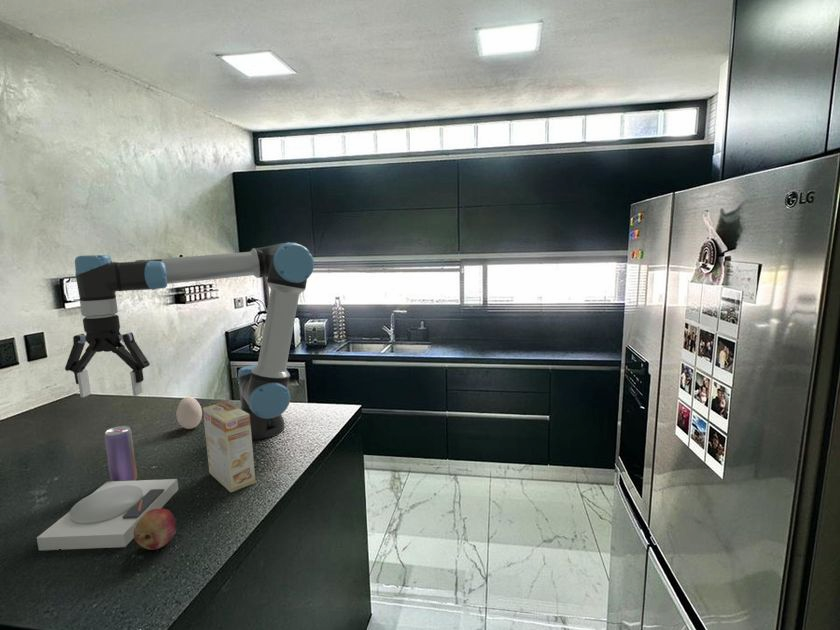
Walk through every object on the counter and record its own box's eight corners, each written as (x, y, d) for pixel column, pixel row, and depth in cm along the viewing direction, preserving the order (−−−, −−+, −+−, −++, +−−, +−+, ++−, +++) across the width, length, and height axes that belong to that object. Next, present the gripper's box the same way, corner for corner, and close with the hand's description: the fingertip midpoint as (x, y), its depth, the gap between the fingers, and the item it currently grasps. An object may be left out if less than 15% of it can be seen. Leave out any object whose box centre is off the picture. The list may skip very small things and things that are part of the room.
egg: (208, 425, 155) (205, 395, 154) (187, 434, 148) (184, 402, 147) (194, 422, 159) (190, 392, 157) (173, 430, 152) (169, 399, 150)
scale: (178, 489, 115) (176, 475, 114) (125, 547, 93) (122, 529, 92) (108, 492, 114) (106, 478, 114) (38, 550, 92) (35, 533, 92)
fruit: (129, 550, 92) (124, 515, 91) (166, 529, 98) (162, 497, 97) (149, 563, 88) (144, 527, 87) (186, 541, 94) (182, 507, 93)
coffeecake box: (256, 482, 117) (250, 413, 114) (230, 493, 112) (223, 421, 109) (233, 464, 128) (227, 400, 124) (208, 473, 123) (201, 407, 119)
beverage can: (124, 488, 116) (117, 435, 113) (105, 486, 117) (98, 434, 114) (143, 477, 121) (136, 426, 119) (124, 475, 123) (117, 424, 120)
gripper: (158, 312, 116) (167, 388, 119) (62, 314, 115) (74, 391, 119) (140, 316, 108) (151, 398, 112) (39, 319, 108) (52, 401, 111)
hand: (111, 395), depth 115 cm, fingers open, 13 cm apart
